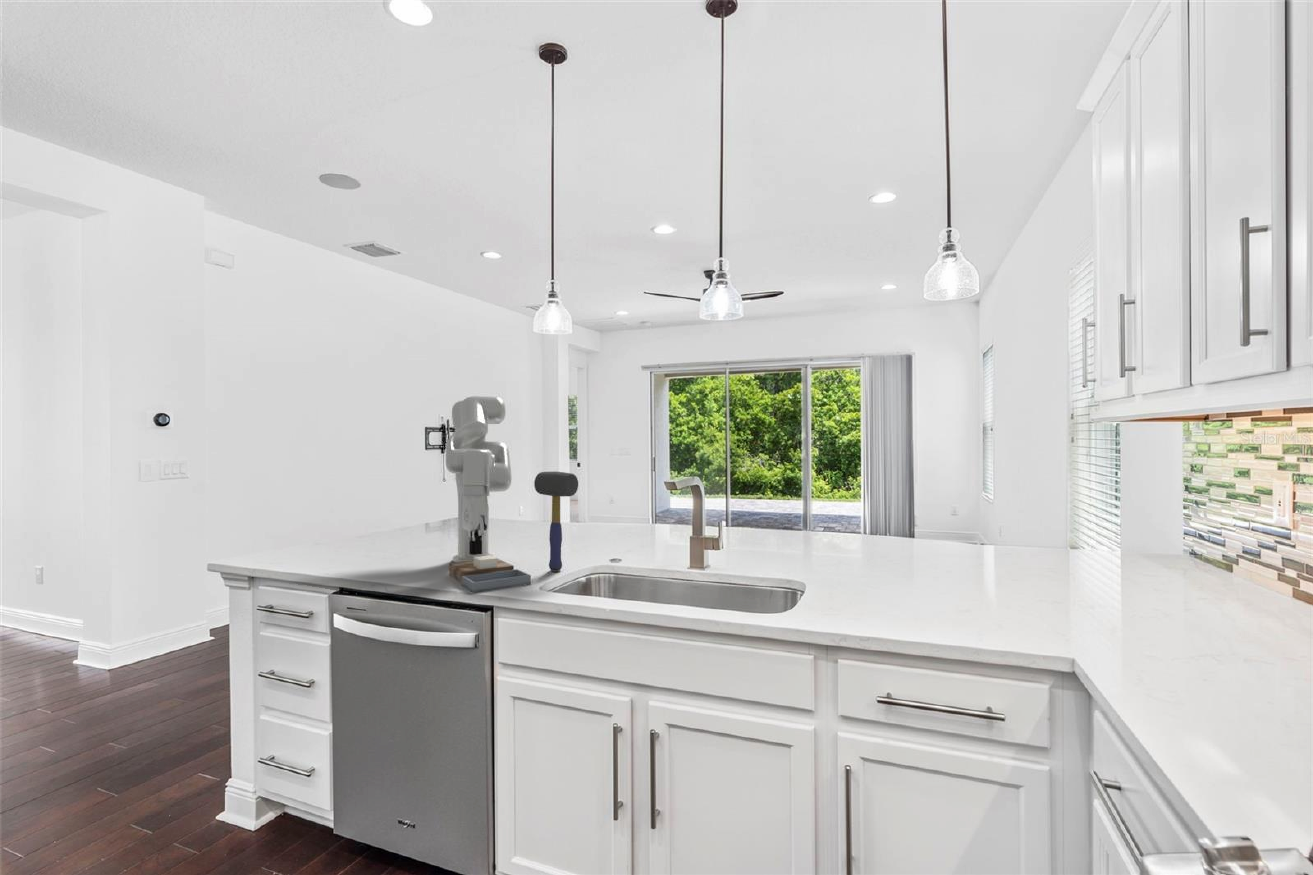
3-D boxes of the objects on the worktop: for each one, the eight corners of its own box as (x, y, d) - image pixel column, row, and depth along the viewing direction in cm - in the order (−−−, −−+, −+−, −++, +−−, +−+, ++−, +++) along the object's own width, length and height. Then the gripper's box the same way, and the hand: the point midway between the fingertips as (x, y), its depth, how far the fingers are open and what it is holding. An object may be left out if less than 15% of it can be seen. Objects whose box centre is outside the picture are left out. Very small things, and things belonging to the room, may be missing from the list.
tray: (461, 585, 167) (462, 576, 167) (517, 577, 177) (517, 569, 177) (473, 592, 160) (473, 582, 160) (530, 584, 169) (530, 575, 169)
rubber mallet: (579, 571, 186) (580, 471, 186) (563, 576, 179) (564, 472, 179) (547, 566, 192) (548, 470, 192) (531, 570, 186) (532, 471, 186)
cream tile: (473, 565, 176) (473, 557, 176) (490, 563, 179) (490, 555, 179) (479, 569, 172) (479, 560, 172) (497, 567, 175) (497, 558, 174)
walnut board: (449, 575, 179) (449, 563, 179) (495, 569, 187) (495, 557, 187) (464, 584, 168) (465, 571, 168) (513, 578, 176) (513, 565, 176)
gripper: (455, 490, 185) (454, 552, 185) (472, 493, 173) (471, 559, 173) (479, 489, 189) (479, 549, 189) (498, 492, 177) (497, 556, 177)
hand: (475, 554), depth 181 cm, fingers closed
